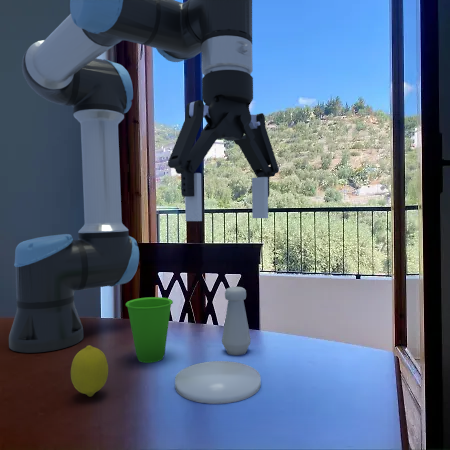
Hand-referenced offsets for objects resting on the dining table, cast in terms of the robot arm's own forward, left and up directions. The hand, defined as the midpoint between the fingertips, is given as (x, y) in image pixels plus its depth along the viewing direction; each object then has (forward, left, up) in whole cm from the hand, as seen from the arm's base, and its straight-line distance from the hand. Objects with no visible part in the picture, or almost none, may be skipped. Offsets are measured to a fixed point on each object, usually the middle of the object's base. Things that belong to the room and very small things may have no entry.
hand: (229, 219), depth 62 cm
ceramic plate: (-5, +1, -27) cm, 28 cm away
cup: (-23, -2, -27) cm, 36 cm away
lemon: (-14, -17, -27) cm, 35 cm away
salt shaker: (-15, +13, -27) cm, 34 cm away
